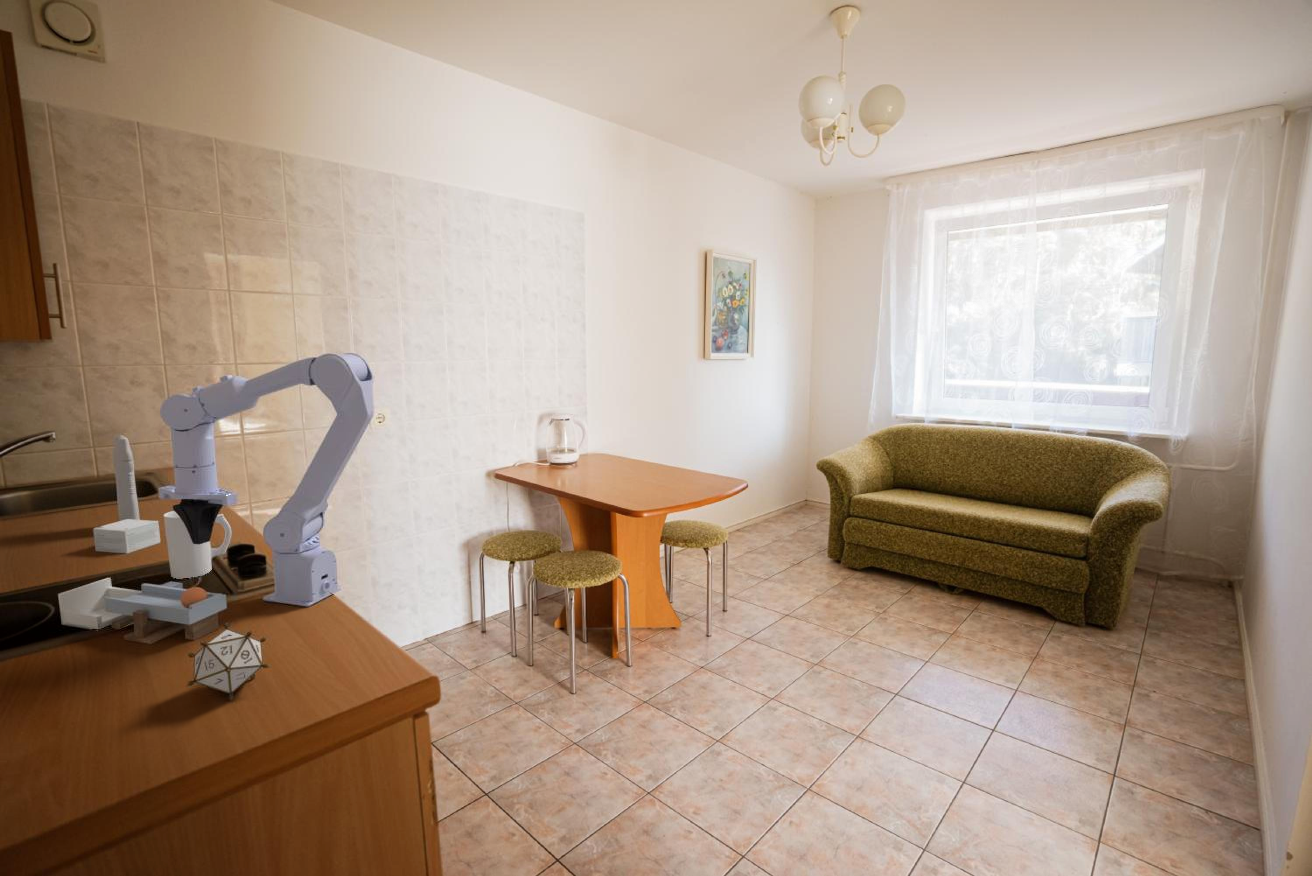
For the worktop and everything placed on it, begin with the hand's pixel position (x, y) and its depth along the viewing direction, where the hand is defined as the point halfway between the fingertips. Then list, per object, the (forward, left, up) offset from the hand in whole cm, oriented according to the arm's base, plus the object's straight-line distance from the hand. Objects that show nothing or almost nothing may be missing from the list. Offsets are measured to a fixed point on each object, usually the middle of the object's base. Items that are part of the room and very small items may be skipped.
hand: (201, 542), depth 104 cm
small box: (+39, -16, -10) cm, 44 cm away
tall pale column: (+53, -26, -10) cm, 60 cm away
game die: (-29, +22, -10) cm, 38 cm away
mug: (+12, -9, -10) cm, 18 cm away
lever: (-5, +9, -7) cm, 12 cm away
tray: (+7, +11, -10) cm, 16 cm away
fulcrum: (-5, +11, -10) cm, 16 cm away
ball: (-11, +11, -6) cm, 16 cm away
